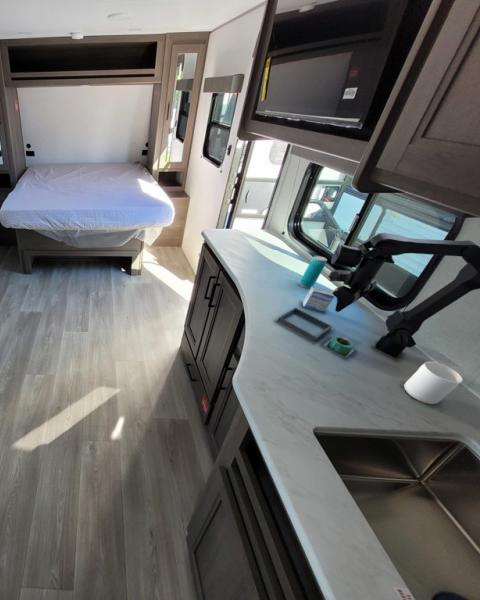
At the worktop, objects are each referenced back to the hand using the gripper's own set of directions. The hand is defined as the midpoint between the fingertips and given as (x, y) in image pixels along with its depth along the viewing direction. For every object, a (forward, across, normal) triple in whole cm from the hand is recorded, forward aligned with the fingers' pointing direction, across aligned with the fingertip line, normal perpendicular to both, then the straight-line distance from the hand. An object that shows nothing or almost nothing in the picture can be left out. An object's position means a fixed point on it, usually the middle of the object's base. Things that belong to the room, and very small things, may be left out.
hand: (342, 307), depth 112 cm
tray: (+12, +4, -7) cm, 15 cm away
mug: (+13, +4, +29) cm, 32 cm away
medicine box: (+13, -14, -11) cm, 22 cm away
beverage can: (+13, -31, -23) cm, 40 cm away
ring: (+12, +6, +7) cm, 15 cm away
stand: (+12, +6, +7) cm, 15 cm away
